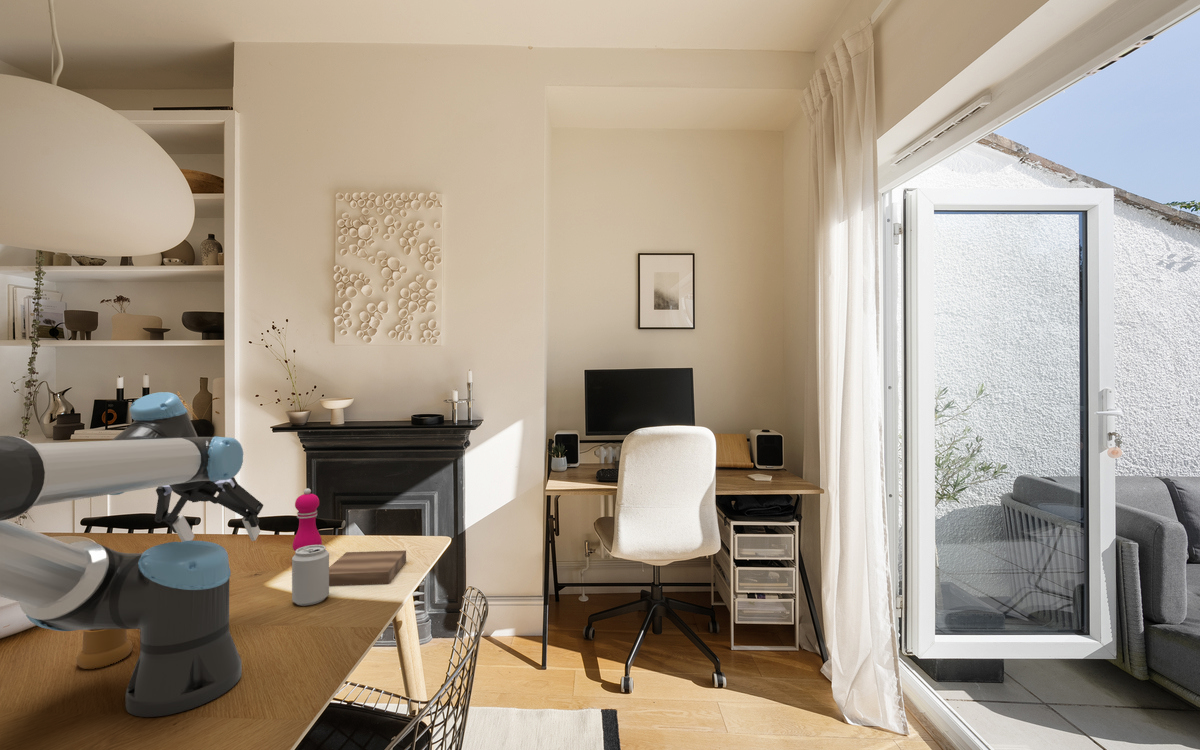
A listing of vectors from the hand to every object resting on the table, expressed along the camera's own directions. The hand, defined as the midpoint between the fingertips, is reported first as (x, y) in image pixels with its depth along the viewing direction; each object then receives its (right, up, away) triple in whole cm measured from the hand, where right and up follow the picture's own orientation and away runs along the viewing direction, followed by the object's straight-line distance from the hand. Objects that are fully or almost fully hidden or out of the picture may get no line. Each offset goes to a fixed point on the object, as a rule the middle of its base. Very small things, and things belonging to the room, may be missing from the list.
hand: (223, 538), depth 116 cm
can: (+16, -16, +6) cm, 24 cm away
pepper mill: (0, -16, +33) cm, 36 cm away
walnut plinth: (+21, -16, +22) cm, 35 cm away
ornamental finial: (-8, -16, -19) cm, 26 cm away
